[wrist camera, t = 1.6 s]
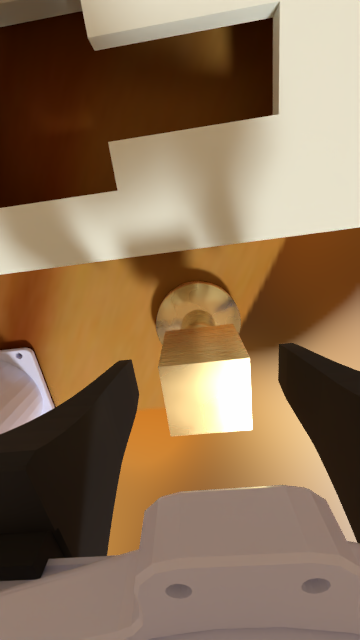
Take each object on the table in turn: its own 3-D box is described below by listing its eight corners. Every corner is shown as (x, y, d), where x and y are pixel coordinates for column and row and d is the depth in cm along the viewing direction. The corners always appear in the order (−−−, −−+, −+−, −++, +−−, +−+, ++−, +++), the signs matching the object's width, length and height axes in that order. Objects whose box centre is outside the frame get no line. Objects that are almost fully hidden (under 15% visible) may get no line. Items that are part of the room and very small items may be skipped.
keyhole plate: (-9, 270, 17) (-59, 282, 14) (-118, -6, 12) (-240, -99, 9) (343, 224, 16) (389, 223, 12) (376, -112, 11) (468, -273, 7)
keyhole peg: (163, 359, 20) (147, 459, 11) (151, 286, 18) (119, 341, 9) (239, 352, 19) (281, 449, 11) (235, 276, 17) (284, 323, 9)
